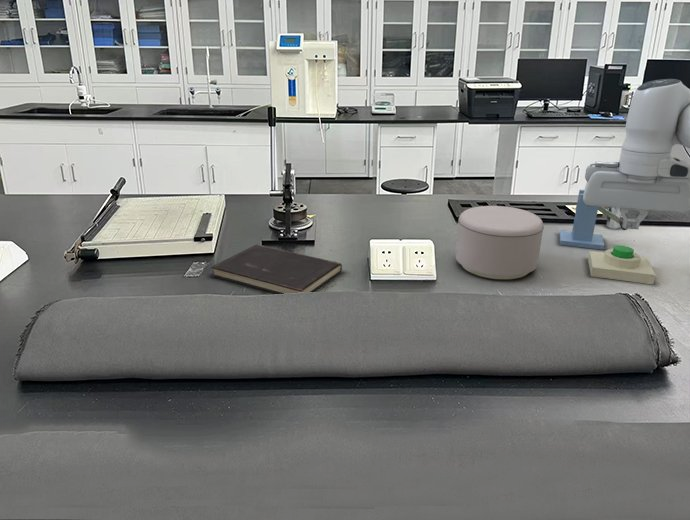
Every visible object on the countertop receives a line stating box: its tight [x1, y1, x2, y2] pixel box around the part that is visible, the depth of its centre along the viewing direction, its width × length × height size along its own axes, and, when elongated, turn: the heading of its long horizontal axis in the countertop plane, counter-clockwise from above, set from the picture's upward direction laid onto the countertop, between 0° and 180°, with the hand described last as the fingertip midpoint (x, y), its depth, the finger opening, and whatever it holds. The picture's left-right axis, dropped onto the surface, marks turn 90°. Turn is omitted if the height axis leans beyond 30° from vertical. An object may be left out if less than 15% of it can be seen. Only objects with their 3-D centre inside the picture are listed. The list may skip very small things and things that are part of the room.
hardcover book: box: [210, 243, 343, 295], centre depth 115 cm, size 16×23×2 cm
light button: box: [612, 245, 635, 259], centre depth 115 cm, size 4×4×2 cm
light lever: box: [598, 206, 628, 231], centre depth 129 cm, size 12×6×2 cm
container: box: [454, 205, 545, 280], centre depth 118 cm, size 18×18×12 cm
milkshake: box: [605, 207, 622, 229], centre depth 143 cm, size 4×5×10 cm
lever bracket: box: [558, 189, 605, 251], centre depth 132 cm, size 10×8×13 cm
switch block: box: [587, 248, 656, 285], centre depth 116 cm, size 12×10×4 cm
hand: (630, 228), depth 113 cm, fingers closed
